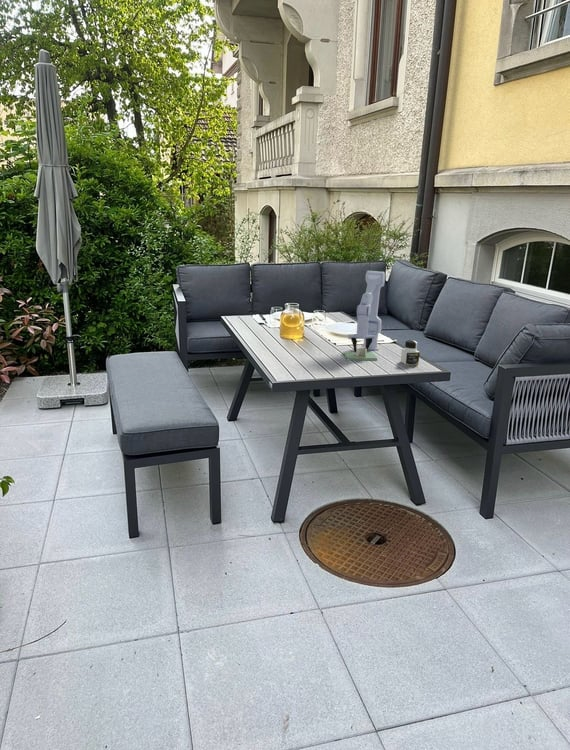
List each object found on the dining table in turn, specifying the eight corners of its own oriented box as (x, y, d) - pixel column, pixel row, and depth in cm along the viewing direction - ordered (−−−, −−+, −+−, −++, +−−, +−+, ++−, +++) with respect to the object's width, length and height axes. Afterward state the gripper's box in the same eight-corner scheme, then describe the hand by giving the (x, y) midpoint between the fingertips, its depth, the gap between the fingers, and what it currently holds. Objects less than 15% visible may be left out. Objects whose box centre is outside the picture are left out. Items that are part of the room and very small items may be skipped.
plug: (354, 353, 306) (355, 346, 305) (364, 353, 306) (365, 346, 305) (356, 356, 301) (356, 348, 300) (366, 356, 301) (367, 349, 300)
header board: (343, 354, 310) (343, 346, 309) (372, 354, 311) (372, 346, 310) (347, 360, 298) (347, 352, 297) (377, 360, 300) (377, 352, 298)
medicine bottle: (405, 365, 292) (407, 342, 289) (400, 361, 299) (402, 339, 295) (418, 365, 294) (420, 342, 290) (412, 361, 300) (415, 339, 297)
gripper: (350, 328, 295) (348, 353, 299) (377, 328, 296) (375, 353, 300) (347, 325, 302) (346, 350, 306) (374, 326, 303) (372, 350, 307)
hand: (360, 351), depth 303 cm, fingers closed on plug, 5 cm apart
